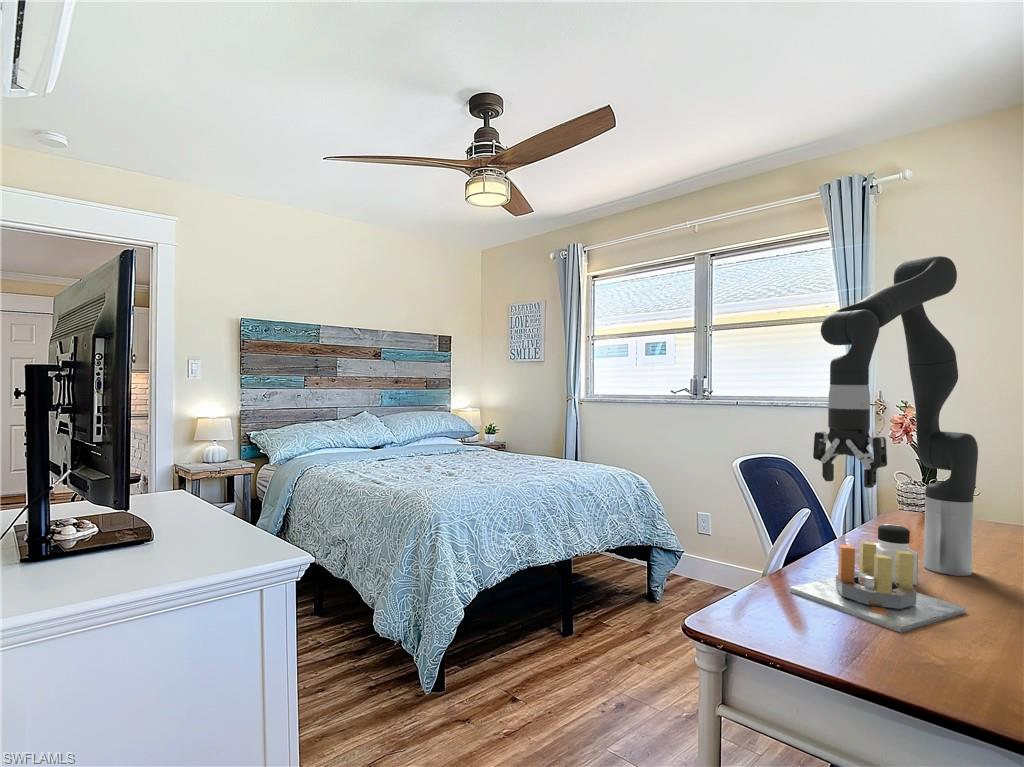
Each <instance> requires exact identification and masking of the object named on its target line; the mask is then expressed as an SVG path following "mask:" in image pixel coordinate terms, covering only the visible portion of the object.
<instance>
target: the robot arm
mask: <svg viewBox="0 0 1024 767" xmlns="http://www.w3.org/2000/svg"><path fill="white" fill-rule="evenodd" d="M957 278H958V271H957V266H956V265H955V263H954V261H953V260H952V259H950V258H949V257H947V256H943V255H941V256H929V257H925V258H924V257H923V258H918V259H912V260H906V261H903V262H900V263H899V264H898V265H896V267H895V269H894V272H893V284H892V285H889V286H887V287H883V288H882V289H879V290H877V291H874V292H873V293H871V294H869V295H868V296H866V297H865V298H863V299H862V300H860V301H858V302H856V303H853V304H849V305H847V306H845V307H842V308H839V309H837V310H835V311H832V312H830V313H829V314H828V315H827V316H826V317H825V318H824V319H823V321H822V323H821V324H820V325H821V326H820V335H821V337H822V339H823V340H824V341H825V342H826V343H828V344H830V345H831V346H832V345H833V346H850V349H849V350H848V352H847V353H846V354H844V355H841V356H838V357H835V358H832V359H831V361H830V365H829V391H828V401H827V402H828V403H827V404H828V405H827V406H828V410H827V412H828V413H827V414H828V416H827V417H828V418H827V419H828V421H827V424H828V425H827V426H828V429H829V432H828V433H827V432H826V431H818V432H815V433H814V438H813V451H812V452H813V454H812V455H813V456H812V457H813V459H814V460H817V461H819V462H821V464H822V472H821V473H822V474H821V475H822V478H823V479H824V481H825V482H833V481H834V479H835V475H834V474H835V465H834V463H833V462H834V460H835V459H836V458H837V457H838V456H840V455H841V456H842V455H847V456H849V457H856V458H857V460H858V461H860V463H861V464H862V465H863V466H864V469H863V470H864V471H863V474H864V475H863V487H864V488H865V489H871V488H874V487H875V485H876V484H877V470H878V469H880V468H884V467H887V465H888V457H887V456H888V454H887V439H886V437H885V436H875V437H873V436H872V437H871V436H870V433H869V432H870V429H871V392H870V385H869V384H870V381H869V380H870V379H869V378H870V376H869V375H870V374H869V373H870V370H869V369H870V364H871V359H872V356H873V353H874V349H875V346H876V344H877V340H878V337H879V333H880V328H882V327H884V326H886V325H887V324H888V323H890V322H892V321H894V320H895V319H896V318H898V317H899V316H901V318H900V319H901V321H902V325H903V326H902V327H903V331H904V336H905V344H906V351H907V360H908V366H909V367H908V369H909V376H910V380H911V381H910V382H911V386H912V393H913V401H914V408H915V427H916V428H915V429H916V448H917V455H918V458H919V460H920V463H921V464H922V465H923V466H924V467H926V468H929V469H935V470H936V469H937V470H944V471H950V475H949V477H948V478H947V479H946V480H944V481H940V482H934V483H929V484H926V486H925V490H924V491H925V492H924V493H925V494H924V495H925V497H924V498H925V499H924V539H923V541H924V545H923V546H924V547H923V548H924V551H923V552H924V553H923V567H924V568H925V569H927V570H929V571H932V572H935V573H939V574H944V575H949V576H959V577H969V576H972V574H973V548H974V547H973V536H974V496H975V490H976V484H977V473H978V472H977V470H978V461H979V460H978V459H979V446H978V442H977V440H976V438H975V436H973V435H972V434H970V433H966V432H954V431H942V430H941V428H940V414H941V410H942V408H943V406H944V405H945V402H946V401H947V400H948V398H949V397H950V395H951V394H952V392H953V391H954V389H955V387H956V385H957V383H958V381H959V369H958V362H957V354H956V350H955V347H954V346H953V345H952V343H951V342H950V341H949V340H948V339H947V338H946V337H945V336H944V335H943V334H942V333H941V332H940V330H939V329H938V328H937V327H936V326H935V325H934V323H932V322H931V320H930V319H929V317H928V315H927V313H926V311H925V308H924V307H925V306H924V303H926V302H929V301H931V300H933V299H936V298H939V297H943V296H945V295H947V294H949V293H950V292H952V290H953V289H954V287H955V286H956V284H957V280H958V279H957ZM828 441H829V442H828ZM827 442H828V443H830V445H829V447H828V448H827ZM869 446H870V447H871V448H872V452H871V451H870V449H869V448H868V447H869ZM872 453H873V454H872Z"/></svg>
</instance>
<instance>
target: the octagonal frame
mask: <svg viewBox="0 0 1024 767" xmlns="http://www.w3.org/2000/svg"><path fill="white" fill-rule="evenodd" d="M874 543H875V542H873V541H864V540H859V570H858V571H859V572H857V571H856V572H855V570H856V569H855V568H856V567H855V566H856V565H855V563H856V562H855V561H856V548H855V547H854V546H853V545H847V544H838V563H837V564H838V566H837V568H838V570H837V574H836V575H835V577H836V588H837V590H838V591H839V592H840V594H841V595H842V596H844V597H847V598H850V599H853V600H856V601H859V602H861V603H864V604H867V605H873V606H881V607H890V608H898V609H901V608H905V607H909V606H912V605H916V592H917V591H916V590H915V589H914V585H913V567H914V554H912V553H911V552H910V551H901V550H896V556H895V579H892V558H891V557H890V556H888V555H879V554H876V544H874ZM859 573H874V589H873V588H869V587H866V586H863V585H859V584H858V579H859Z"/></svg>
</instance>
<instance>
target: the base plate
mask: <svg viewBox="0 0 1024 767" xmlns="http://www.w3.org/2000/svg"><path fill="white" fill-rule="evenodd" d="M858 573H859V572H858ZM858 584H859V585H863V586H866V587H869V588H873V589H874V573H859V579H858ZM789 593H791V594H792V593H793V594H795V595H797V596H800V597H803V598H806V599H807V600H810V601H814V602H817V603H819V604H822V605H823V606H826V607H829V608H832V609H835V610H838V611H841V612H842V613H846V614H848V615H850V616H853V617H857V618H859V619H862V620H865V621H868V622H870V623H872V624H876V625H878V626H880V627H883V628H886V629H889V630H891V631H895V632H897V633H899V634H902V633H905V632H907V631H908V632H909V631H911V630H914V629H918V628H921V627H925V626H927V625H930V624H934V623H938V622H940V621H944V620H947V619H951V618H953V617H957V616H960V615H963V614H966V613H967V608H966V607H965V606H962V605H958V604H955V603H952V602H949V601H947V600H942V599H939V598H935V597H934V596H933V597H932V596H929V595H926V594H923V593H921V592H917V591H916V605H912V606H909V607H905V608H901V609H898V608H890V607H881V606H873V605H867V604H864V603H861V602H859V601H856V600H853V599H850V598H847V597H844V596H842V595H841V594H840V592H839V591H838V590H837V588H836V576H835V577H830V578H826V579H823V580H817V581H812V582H807V583H803V584H799V585H798V584H797V585H793V586H790V587H789Z"/></svg>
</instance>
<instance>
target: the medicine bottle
mask: <svg viewBox="0 0 1024 767" xmlns="http://www.w3.org/2000/svg"><path fill="white" fill-rule="evenodd" d="M910 536H911V535H910V530H909V529H908V528H907V527H905V526H902V525H897V524H881V525H879V526H878V527H877V542H873V543H874V544H876V554H879V555H888V556H890V557H891V558H892V579H895V556H896V550H901V551H910V552H911V553H912V554H914V567H913V586H914V585H916V586H917V584H918V565H919V562H918V560H919V559H918V558H919V557H918V556H919V555H918V552H917V551H914V550H913V549H911V548H909V547H910V541H911V540H910V539H911V538H910Z"/></svg>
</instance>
